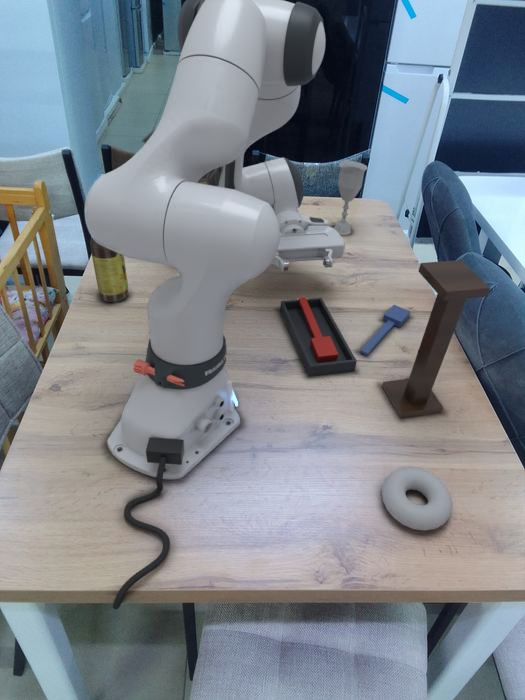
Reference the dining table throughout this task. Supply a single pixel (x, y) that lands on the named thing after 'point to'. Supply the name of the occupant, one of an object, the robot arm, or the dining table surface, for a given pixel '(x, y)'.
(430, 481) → the donut
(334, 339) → the tray
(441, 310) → the brown stand
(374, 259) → the dining table surface
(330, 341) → the red spoon
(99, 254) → the sauce bottle
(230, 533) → the dining table surface
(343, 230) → the chalice
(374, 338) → the blue spoon
